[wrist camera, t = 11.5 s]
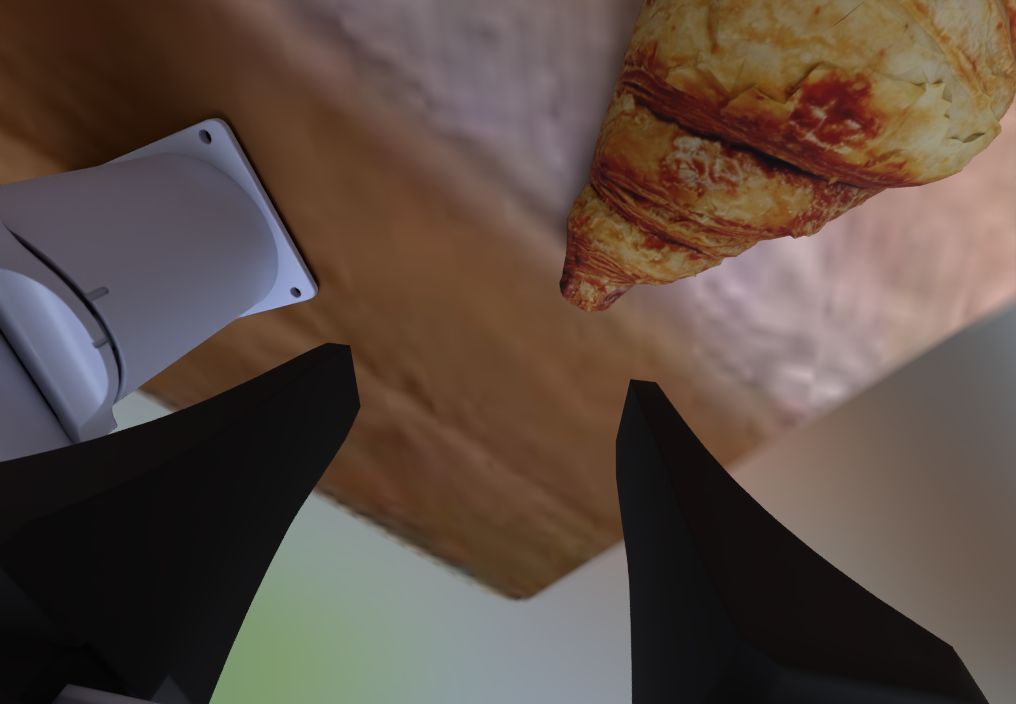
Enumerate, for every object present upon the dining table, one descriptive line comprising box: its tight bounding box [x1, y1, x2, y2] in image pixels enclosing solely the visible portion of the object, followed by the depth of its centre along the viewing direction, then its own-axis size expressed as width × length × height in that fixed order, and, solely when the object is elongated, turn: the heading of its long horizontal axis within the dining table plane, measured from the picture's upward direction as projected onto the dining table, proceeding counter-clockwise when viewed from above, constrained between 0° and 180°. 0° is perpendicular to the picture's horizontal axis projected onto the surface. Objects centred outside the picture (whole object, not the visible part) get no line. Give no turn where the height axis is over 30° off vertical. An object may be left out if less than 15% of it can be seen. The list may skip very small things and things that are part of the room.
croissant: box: [559, 0, 1016, 312], centre depth 12 cm, size 21×10×8 cm
